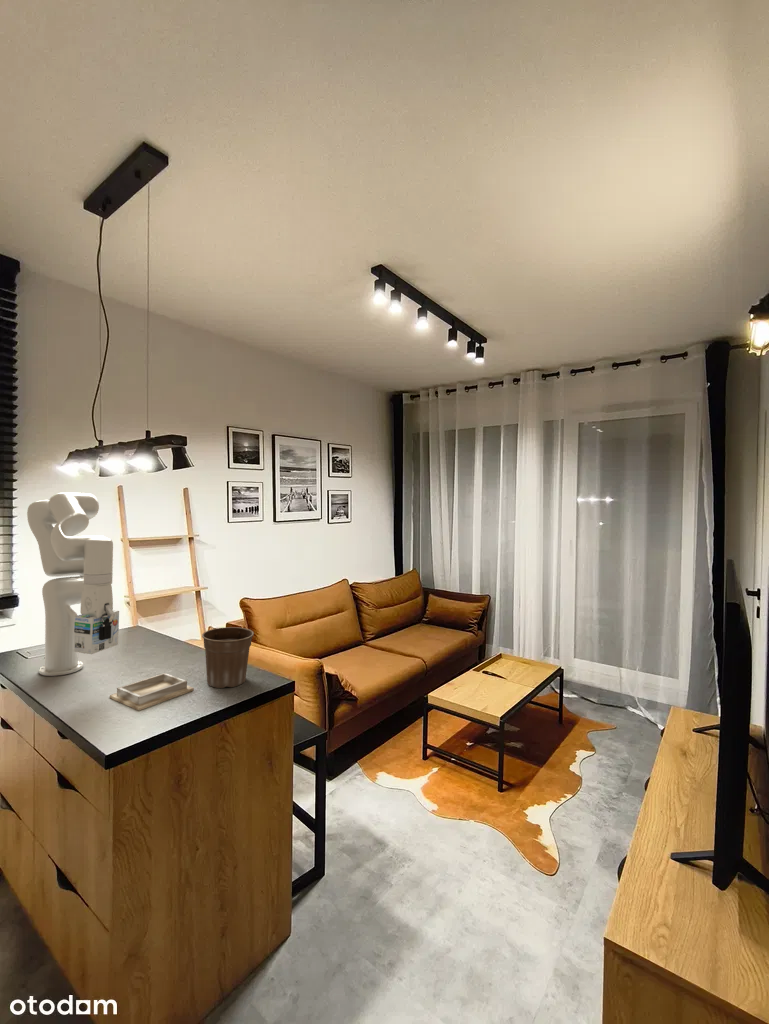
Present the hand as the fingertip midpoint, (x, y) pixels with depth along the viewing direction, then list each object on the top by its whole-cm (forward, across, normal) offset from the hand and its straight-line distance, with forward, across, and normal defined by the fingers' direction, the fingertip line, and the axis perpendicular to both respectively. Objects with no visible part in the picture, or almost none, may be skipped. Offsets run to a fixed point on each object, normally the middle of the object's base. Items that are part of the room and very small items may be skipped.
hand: (97, 636), depth 147 cm
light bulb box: (+4, 0, 0) cm, 4 cm away
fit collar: (+18, +13, +10) cm, 24 cm away
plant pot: (+18, +23, +30) cm, 42 cm away
